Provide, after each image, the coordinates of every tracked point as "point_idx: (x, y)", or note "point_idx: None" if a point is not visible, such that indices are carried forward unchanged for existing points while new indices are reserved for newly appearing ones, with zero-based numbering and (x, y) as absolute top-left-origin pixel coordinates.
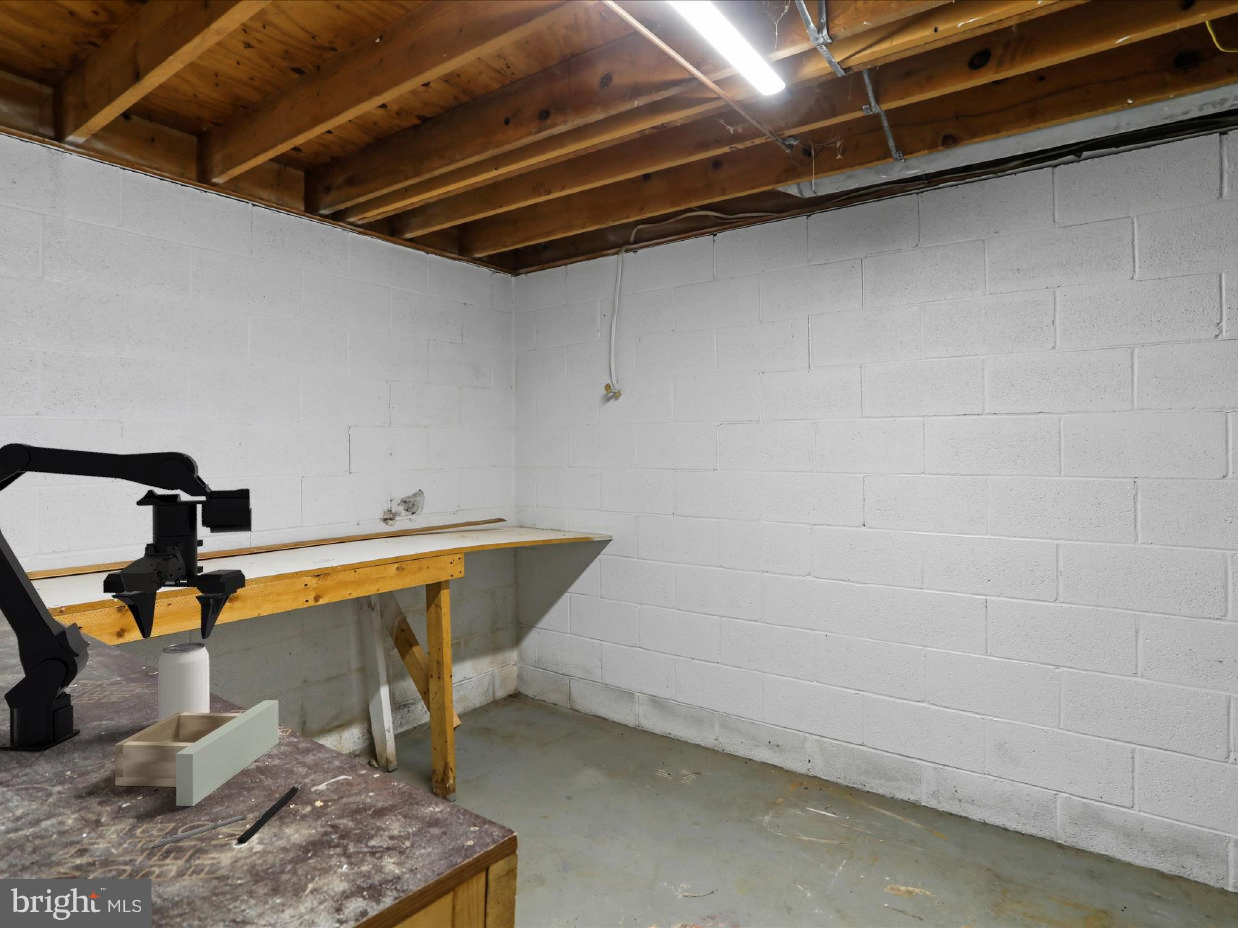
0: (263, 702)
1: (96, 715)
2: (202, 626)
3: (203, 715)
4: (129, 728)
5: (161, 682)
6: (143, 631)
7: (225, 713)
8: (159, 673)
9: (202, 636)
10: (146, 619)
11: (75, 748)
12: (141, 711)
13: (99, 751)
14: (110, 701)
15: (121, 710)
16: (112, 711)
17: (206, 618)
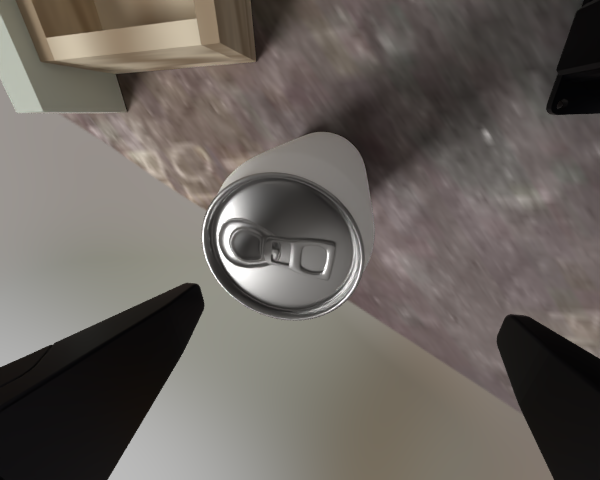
0: (31, 94)
1: (567, 237)
2: (138, 315)
3: (134, 26)
4: (437, 165)
5: (331, 147)
6: (544, 340)
7: (98, 52)
8: (341, 159)
9: (185, 287)
10: (596, 448)
11: (506, 24)
12: (467, 256)
13: (425, 14)
14: (575, 310)
15: (518, 263)
16: (538, 258)
17: (56, 344)
